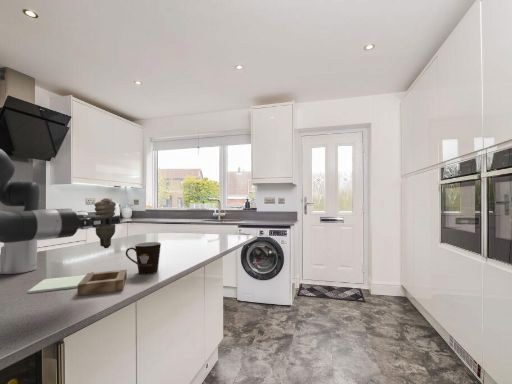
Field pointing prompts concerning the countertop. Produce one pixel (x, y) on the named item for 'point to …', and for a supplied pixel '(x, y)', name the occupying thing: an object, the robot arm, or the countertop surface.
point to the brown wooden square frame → (102, 282)
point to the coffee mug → (146, 257)
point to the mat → (57, 284)
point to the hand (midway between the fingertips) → (112, 219)
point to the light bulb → (105, 232)
